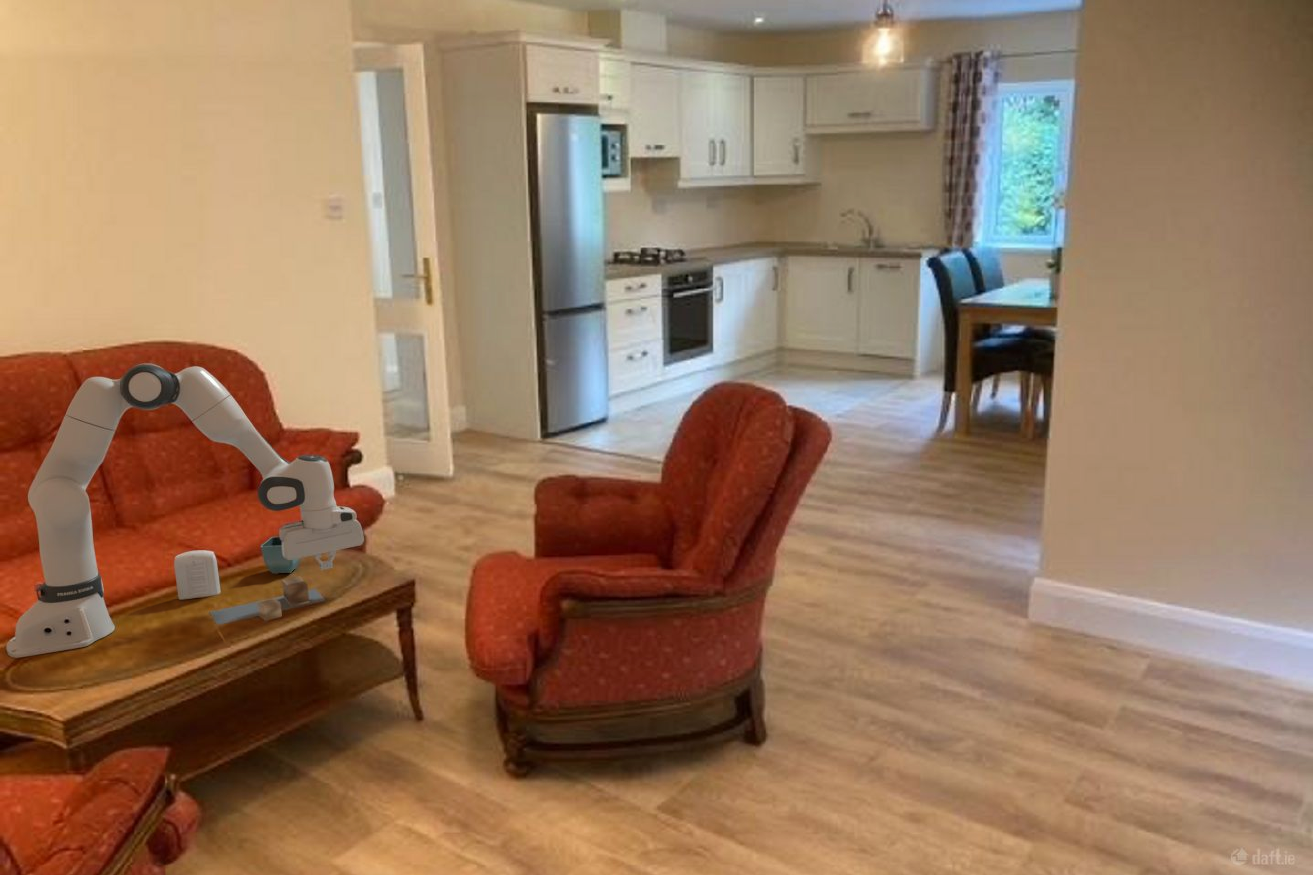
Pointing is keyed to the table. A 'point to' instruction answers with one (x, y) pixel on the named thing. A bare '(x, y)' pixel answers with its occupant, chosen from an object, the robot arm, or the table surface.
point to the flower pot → (277, 557)
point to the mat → (252, 608)
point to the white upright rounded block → (196, 574)
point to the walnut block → (295, 591)
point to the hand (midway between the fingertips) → (326, 568)
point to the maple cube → (269, 609)
